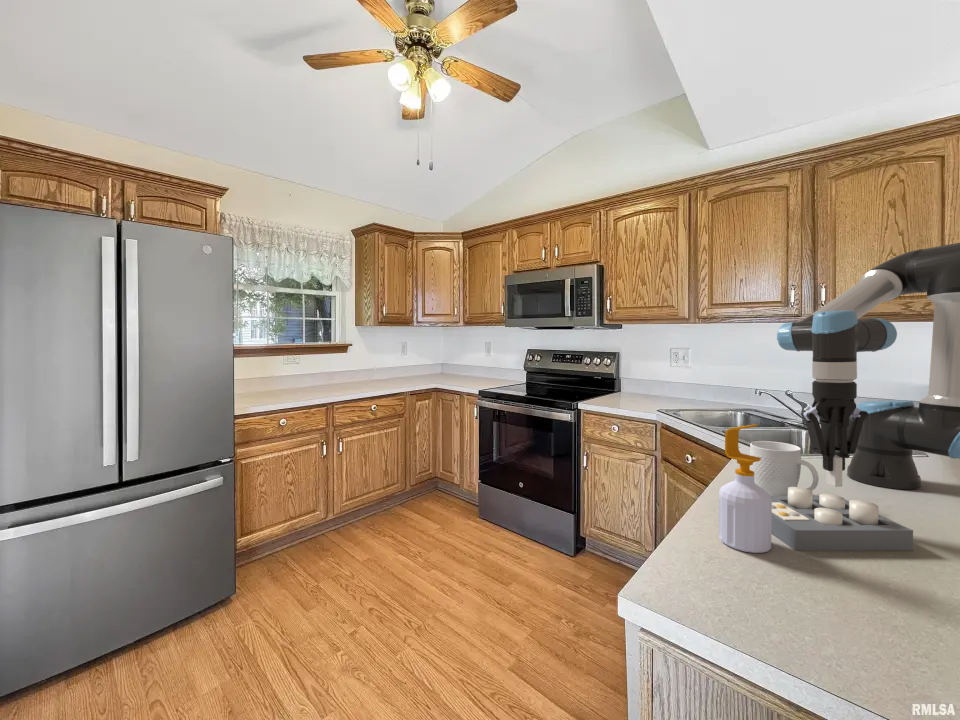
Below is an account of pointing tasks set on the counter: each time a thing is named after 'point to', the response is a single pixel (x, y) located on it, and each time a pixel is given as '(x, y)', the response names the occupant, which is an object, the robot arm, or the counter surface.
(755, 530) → the soap bottle
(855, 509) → the button
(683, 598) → the counter surface
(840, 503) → the button
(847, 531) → the button board
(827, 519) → the button
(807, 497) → the button
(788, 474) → the mug
